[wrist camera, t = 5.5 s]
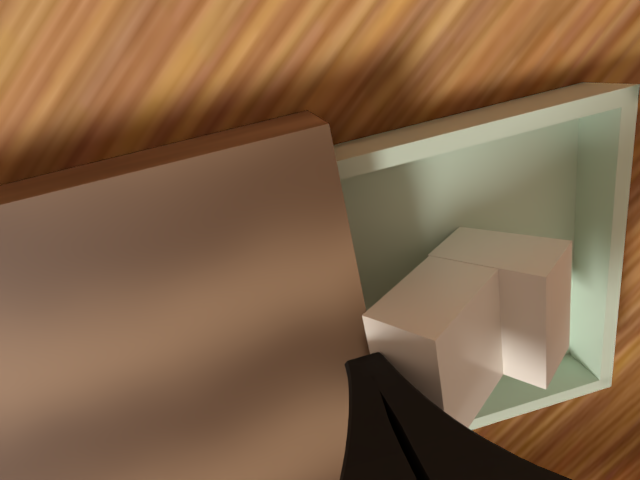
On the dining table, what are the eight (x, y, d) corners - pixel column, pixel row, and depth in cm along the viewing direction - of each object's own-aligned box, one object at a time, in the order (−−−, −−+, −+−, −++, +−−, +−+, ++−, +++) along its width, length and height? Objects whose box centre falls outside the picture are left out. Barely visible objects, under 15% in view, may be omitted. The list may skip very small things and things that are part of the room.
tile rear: (439, 351, 17) (467, 318, 19) (546, 389, 14) (569, 346, 16) (427, 255, 15) (459, 226, 17) (546, 277, 12) (572, 240, 14)
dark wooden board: (377, 432, 21) (405, 508, 17) (99, 518, 20) (67, 618, 16) (307, 110, 15) (329, 123, 11) (-108, 211, 14) (-236, 263, 10)
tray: (571, 352, 21) (611, 386, 19) (377, 411, 21) (393, 454, 18) (583, 82, 16) (639, 84, 14) (321, 147, 15) (335, 161, 13)
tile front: (441, 352, 17) (503, 374, 15) (384, 420, 15) (450, 456, 13) (429, 255, 15) (498, 268, 13) (361, 315, 13) (435, 340, 11)
